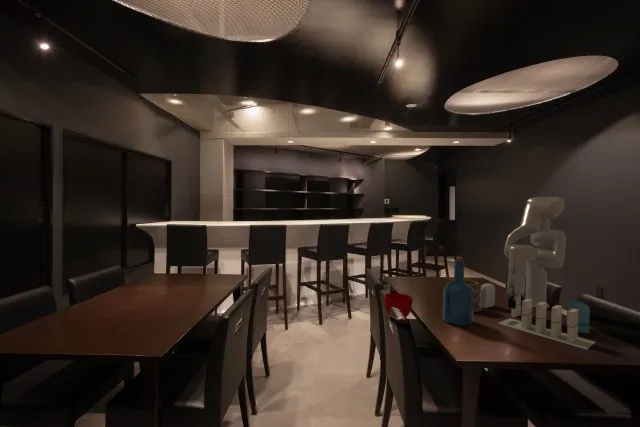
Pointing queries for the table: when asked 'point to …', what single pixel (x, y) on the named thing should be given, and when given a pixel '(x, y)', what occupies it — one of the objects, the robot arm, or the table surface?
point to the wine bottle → (458, 298)
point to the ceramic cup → (398, 302)
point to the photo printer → (487, 295)
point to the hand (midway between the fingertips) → (516, 306)
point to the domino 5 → (572, 325)
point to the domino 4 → (556, 321)
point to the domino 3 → (541, 317)
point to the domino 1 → (516, 311)
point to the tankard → (476, 292)
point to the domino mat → (548, 334)
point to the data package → (580, 314)
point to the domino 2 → (526, 313)
